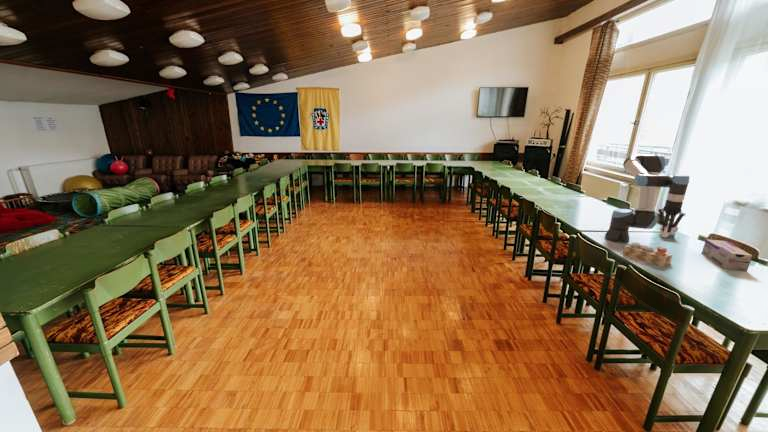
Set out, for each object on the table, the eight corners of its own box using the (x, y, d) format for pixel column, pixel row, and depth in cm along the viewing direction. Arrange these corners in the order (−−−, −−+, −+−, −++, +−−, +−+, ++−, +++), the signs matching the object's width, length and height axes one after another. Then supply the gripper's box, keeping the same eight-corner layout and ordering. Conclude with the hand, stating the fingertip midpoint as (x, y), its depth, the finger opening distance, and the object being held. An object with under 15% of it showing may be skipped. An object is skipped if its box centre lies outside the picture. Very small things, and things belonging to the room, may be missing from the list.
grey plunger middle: (639, 257, 207) (642, 246, 205) (643, 255, 209) (646, 245, 207) (648, 259, 203) (650, 249, 201) (651, 258, 205) (654, 247, 203)
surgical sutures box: (701, 253, 213) (705, 239, 210) (722, 256, 209) (727, 241, 206) (723, 269, 190) (728, 253, 187) (746, 272, 187) (752, 255, 184)
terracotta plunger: (653, 258, 200) (655, 248, 198) (656, 257, 202) (659, 246, 200) (661, 261, 196) (664, 250, 194) (665, 260, 198) (668, 249, 196)
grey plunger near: (628, 253, 213) (630, 243, 211) (631, 252, 215) (634, 242, 212) (635, 256, 209) (638, 245, 207) (639, 254, 211) (642, 244, 209)
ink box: (672, 236, 244) (676, 221, 241) (674, 238, 240) (678, 223, 237) (658, 234, 249) (662, 220, 246) (659, 236, 245) (663, 221, 242)
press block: (622, 254, 213) (624, 246, 211) (630, 251, 217) (632, 243, 216) (662, 266, 194) (664, 257, 193) (670, 263, 199) (672, 254, 197)
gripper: (658, 198, 193) (649, 234, 201) (685, 203, 182) (674, 241, 189) (664, 197, 197) (655, 232, 204) (691, 202, 186) (680, 238, 193)
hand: (664, 236), depth 197 cm, fingers closed
